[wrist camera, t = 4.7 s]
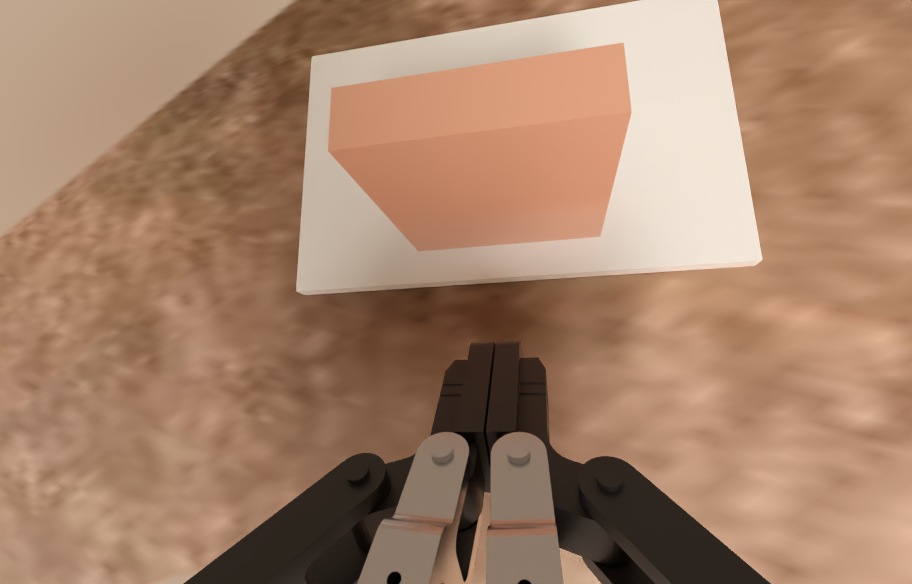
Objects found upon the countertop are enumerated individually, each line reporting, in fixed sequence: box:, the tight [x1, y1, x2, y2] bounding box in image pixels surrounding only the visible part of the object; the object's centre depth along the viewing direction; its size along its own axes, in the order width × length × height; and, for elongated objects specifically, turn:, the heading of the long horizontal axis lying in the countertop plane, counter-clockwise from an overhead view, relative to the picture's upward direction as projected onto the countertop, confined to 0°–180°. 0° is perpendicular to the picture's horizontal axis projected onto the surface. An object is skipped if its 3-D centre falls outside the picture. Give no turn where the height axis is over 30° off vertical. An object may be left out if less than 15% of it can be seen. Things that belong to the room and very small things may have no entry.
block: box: [328, 43, 632, 251], centre depth 17 cm, size 8×2×9 cm, turn 90°
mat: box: [296, 0, 762, 295], centre depth 23 cm, size 20×13×1 cm, turn 90°
